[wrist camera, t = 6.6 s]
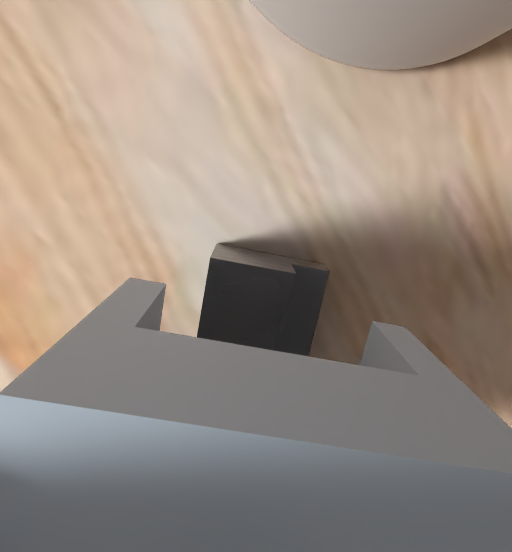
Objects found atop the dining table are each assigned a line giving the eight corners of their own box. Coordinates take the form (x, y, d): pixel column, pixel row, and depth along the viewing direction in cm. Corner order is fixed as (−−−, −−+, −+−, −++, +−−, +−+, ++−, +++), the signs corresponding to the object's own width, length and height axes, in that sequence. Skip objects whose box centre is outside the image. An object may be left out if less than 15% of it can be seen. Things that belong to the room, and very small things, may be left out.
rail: (216, 243, 15) (210, 257, 12) (323, 263, 15) (338, 281, 13) (150, 627, 20) (136, 692, 17) (232, 637, 20) (230, 702, 18)
